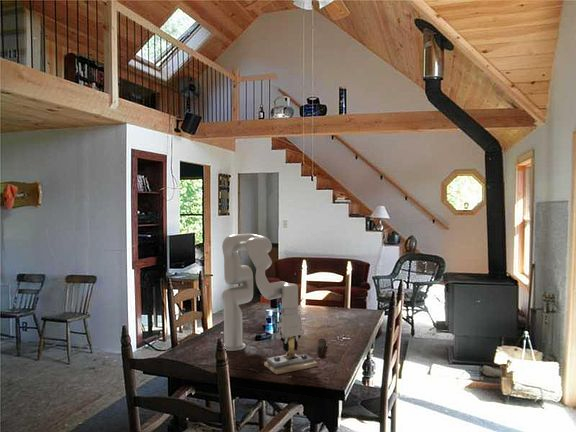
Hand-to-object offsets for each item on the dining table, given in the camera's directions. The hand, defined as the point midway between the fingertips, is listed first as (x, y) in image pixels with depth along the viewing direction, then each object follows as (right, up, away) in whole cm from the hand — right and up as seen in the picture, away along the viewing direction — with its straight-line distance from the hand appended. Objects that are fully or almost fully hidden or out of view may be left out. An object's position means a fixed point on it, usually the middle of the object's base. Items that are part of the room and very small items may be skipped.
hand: (290, 349), depth 197 cm
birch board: (0, -7, 0) cm, 7 cm away
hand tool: (+16, -7, +20) cm, 27 cm away
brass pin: (0, -2, 0) cm, 2 cm away
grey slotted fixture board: (0, -6, 0) cm, 6 cm away
